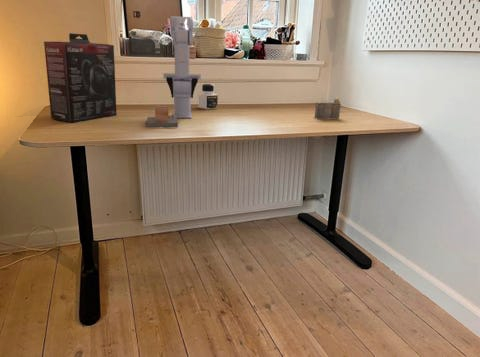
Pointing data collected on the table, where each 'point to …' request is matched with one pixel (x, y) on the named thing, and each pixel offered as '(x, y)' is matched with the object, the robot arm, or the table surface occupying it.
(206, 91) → the medicine bottle
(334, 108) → the ruin model on sheet
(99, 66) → the headset box
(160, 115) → the cube
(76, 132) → the table surface
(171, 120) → the base block
